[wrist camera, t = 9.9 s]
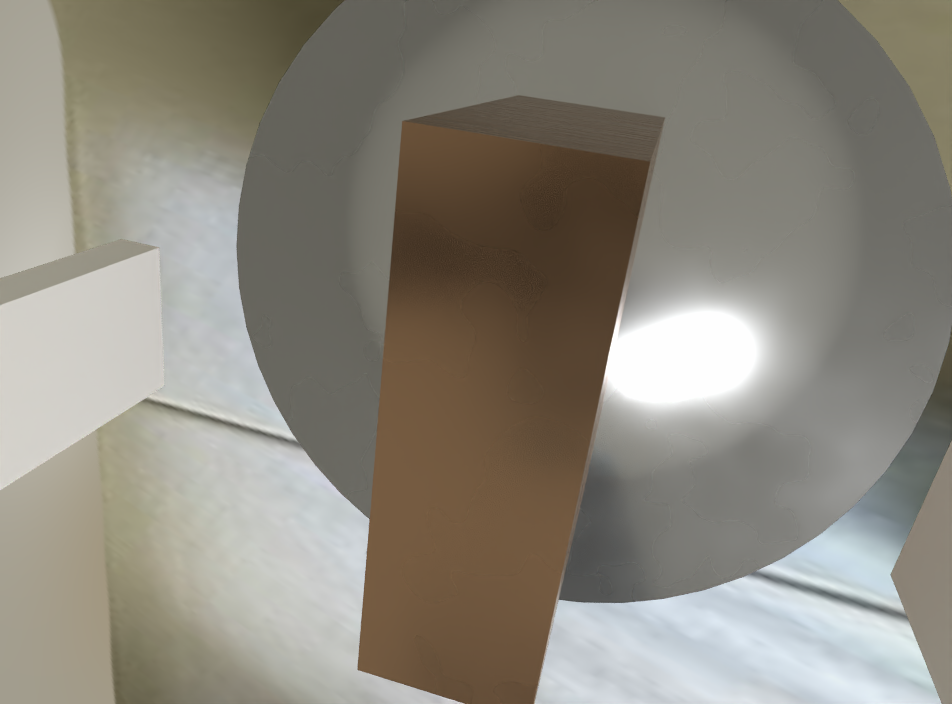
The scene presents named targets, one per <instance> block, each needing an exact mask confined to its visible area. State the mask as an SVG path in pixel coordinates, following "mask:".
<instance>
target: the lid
mask: <svg viewBox="0 0 952 704" xmlns="http://www.w3.org/2000/svg"><path fill="white" fill-rule="evenodd" d="M237 261H238V277H239V289H240V295H241V300H242V306H243V311H244V316H245V322H246V327H247V330H248V334H249V337H250V340H251V343H252V347H253V350H254V353H255V356H256V360H257V363H258V366H259V368H260V370H261V373H262V375H263V377H264V380H265V382H266V384H267V386H268V389H269V391H270V393H271V396H272V398H273V400H274V402H275V404H276V405H277V407H278V409H279V411H280V412H281V414H282V416H283V418H284V419H285V421H286V423H287V425H288V426H289V428H290V430H291V432H292V433H293V435H294V436H295V438H296V439H297V440H298V442H299V443H300V445H301V446H302V447H303V449H304V450H305V451H306V453H307V454H308V456H309V457H310V458H311V460H312V461H313V462H314V464H315V465H316V466H317V467H318V468H319V470H320V471H321V472H322V473H323V474H324V475H325V476H326V477H327V479H328V480H329V481H330V482H331V483H332V484H333V485H334V486H335V487H336V489H337V490H338V491H339V492H340V493H341V494H342V495H343V496H344V497H345V498H347V499H348V500H349V501H350V502H351V503H352V504H353V505H354V506H355V507H357V508H358V509H359V510H360V511H361V512H362V513H363V514H364V515H365V516H366V517H368V518H369V519H370V522H369V534H368V547H367V559H366V571H365V583H364V596H363V608H362V620H361V632H360V645H359V657H358V669H357V670H360V671H363V672H366V673H369V674H372V675H376V676H379V677H382V678H385V679H388V680H392V681H395V682H398V683H401V684H404V685H407V686H411V687H414V688H417V689H420V690H423V691H427V692H430V693H433V694H436V695H439V696H442V697H446V698H449V699H452V700H455V701H458V702H462V703H465V704H534V703H535V699H536V694H537V690H538V686H539V682H540V677H541V673H542V669H543V664H544V660H545V656H546V652H547V647H548V643H549V639H550V634H551V630H552V626H553V622H554V617H555V613H556V609H557V604H558V600H566V601H575V602H593V603H626V602H636V601H646V600H657V599H665V598H669V597H674V596H679V595H684V594H688V593H693V592H698V591H702V590H706V589H709V588H712V587H715V586H718V585H721V584H724V583H727V582H730V581H733V580H736V579H739V578H742V577H744V576H746V575H748V574H751V573H753V572H755V571H757V570H759V569H761V568H763V567H765V566H767V565H770V564H772V563H774V562H776V561H778V560H780V559H782V558H784V557H785V556H787V555H788V554H790V553H792V552H793V551H795V550H796V549H798V548H799V547H801V546H803V545H804V544H806V543H807V542H809V541H811V540H812V539H814V538H815V537H817V536H818V535H820V534H821V533H822V532H823V531H825V530H826V529H827V528H828V527H829V526H831V525H832V524H833V523H834V522H835V521H837V520H838V519H839V518H840V517H841V516H843V515H844V514H845V513H846V512H847V511H849V510H850V509H851V508H852V507H853V506H854V505H855V504H856V503H857V502H858V501H859V500H860V499H861V498H862V497H863V496H864V495H865V494H866V492H867V491H868V490H869V489H870V488H871V487H872V486H873V485H874V484H875V483H876V482H877V480H878V479H879V478H880V477H881V476H882V475H883V474H884V473H885V472H886V470H887V469H888V467H889V466H890V464H891V463H892V461H893V460H894V459H895V457H896V456H897V454H898V453H899V451H900V450H901V449H902V447H903V446H904V444H905V443H906V441H907V440H908V438H909V437H910V436H911V434H912V432H913V430H914V428H915V426H916V424H917V422H918V420H919V418H920V416H921V414H922V412H923V410H924V408H925V406H926V404H927V402H928V400H929V398H930V396H931V394H932V392H933V390H934V387H935V384H936V381H937V378H938V375H939V372H940V369H941V366H942V363H943V360H944V357H945V354H946V351H947V348H948V345H949V339H950V333H951V327H952V197H951V190H950V186H949V183H948V180H947V177H946V173H945V170H944V167H943V164H942V160H941V157H940V154H939V151H938V148H937V144H936V141H935V138H934V135H933V133H932V131H931V129H930V127H929V125H928V123H927V121H926V119H925V117H924V115H923V113H922V111H921V109H920V107H919V105H918V103H917V101H916V99H915V97H914V95H913V93H912V91H911V89H910V87H909V85H908V84H907V82H906V81H905V80H904V78H903V77H902V75H901V74H900V72H899V71H898V70H897V68H896V67H895V65H894V64H893V63H892V61H891V60H890V58H889V57H888V56H887V54H886V53H885V51H884V50H883V48H882V47H881V46H880V44H879V43H878V41H877V40H876V39H875V38H874V37H873V36H872V35H871V34H870V33H869V32H868V31H867V30H866V29H865V28H864V27H863V26H862V25H861V24H860V23H859V22H858V21H857V20H856V19H855V17H854V16H853V15H852V14H851V13H850V12H849V11H848V10H847V9H846V8H845V7H844V6H843V5H842V4H841V3H840V2H839V1H838V0H345V1H344V2H342V3H341V4H340V5H339V6H338V7H337V8H336V9H335V10H334V11H333V12H332V13H331V14H330V15H329V17H328V18H327V19H326V20H325V21H324V22H323V23H322V25H321V26H320V27H319V28H318V29H317V30H316V31H315V33H314V34H313V35H312V36H311V37H310V38H309V39H308V41H307V42H306V43H305V44H304V45H303V47H302V48H301V50H300V52H299V53H298V55H297V56H296V58H295V59H294V61H293V62H292V64H291V65H290V67H289V68H288V70H287V71H286V73H285V74H284V76H283V78H282V79H281V81H280V82H279V84H278V86H277V88H276V90H275V92H274V95H273V97H272V99H271V101H270V103H269V105H268V107H267V109H266V111H265V113H264V116H263V118H262V120H261V122H260V124H259V128H258V131H257V134H256V137H255V140H254V143H253V146H252V149H251V152H250V156H249V159H248V162H247V165H246V171H245V176H244V181H243V187H242V192H241V198H240V203H239V214H238V232H237Z"/></svg>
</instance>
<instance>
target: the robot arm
mask: <svg viewBox="0 0 952 704" xmlns="http://www.w3.org/2000/svg"><path fill="white" fill-rule="evenodd" d="M164 386H165V383H164V358H163V333H162V308H161V282H160V257H159V247H155V246H150V245H146V244H141V243H137V242H132V241H128V240H123V239H120V240H117V241H114V242H111V243H108V244H105V245H102V246H99V247H95V248H92V249H89V250H86V251H83V252H80V253H77V254H74V255H71V256H68V257H65V258H62V259H59V260H55V261H53V262H49V263H47V264H43V265H40V266H37V267H34V268H31V269H28V270H25V271H22V272H18V273H15V274H13V275H9V276H6V277H3V278H0V490H1V489H3V488H5V487H6V486H8V485H9V484H11V483H12V482H14V481H16V480H17V479H19V478H20V477H22V476H23V475H25V474H27V473H28V472H30V471H31V470H33V469H34V468H36V467H38V466H39V465H41V464H42V463H44V462H46V461H47V460H49V459H50V458H52V457H53V456H55V455H57V454H58V453H60V452H61V451H63V450H64V449H66V448H68V447H69V446H71V445H72V444H74V443H76V442H77V441H79V440H80V439H82V438H83V437H85V436H87V435H88V434H90V433H91V432H93V431H94V430H96V429H98V428H99V427H101V426H102V425H104V424H106V423H107V422H109V421H110V420H112V419H113V418H115V417H117V416H118V415H120V414H121V413H123V412H124V411H126V410H128V409H129V408H131V407H132V406H134V405H135V404H137V403H139V402H140V401H142V400H143V399H145V398H147V397H148V396H150V395H151V394H153V393H154V392H156V391H158V390H159V389H161V388H162V387H164ZM891 577H892V579H893V582H894V584H895V587H896V590H897V592H898V595H899V597H900V600H901V602H902V605H903V607H904V610H905V612H906V615H907V617H908V620H909V622H910V625H911V627H912V630H913V632H914V635H915V637H916V640H917V642H918V645H919V647H920V650H921V652H922V655H923V657H924V660H925V663H926V665H927V668H928V670H929V673H930V675H931V678H932V680H933V683H934V685H935V688H936V690H937V693H938V695H939V698H940V700H941V703H942V704H952V440H951V443H950V445H949V447H948V449H947V451H946V454H945V456H944V458H943V460H942V463H941V465H940V467H939V469H938V471H937V474H936V476H935V478H934V480H933V482H932V485H931V487H930V489H929V491H928V493H927V496H926V498H925V500H924V502H923V504H922V507H921V509H920V511H919V513H918V515H917V518H916V520H915V522H914V524H913V526H912V529H911V531H910V533H909V535H908V537H907V540H906V542H905V544H904V546H903V548H902V551H901V553H900V555H899V557H898V559H897V562H896V564H895V566H894V568H893V570H892V573H891Z"/></svg>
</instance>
